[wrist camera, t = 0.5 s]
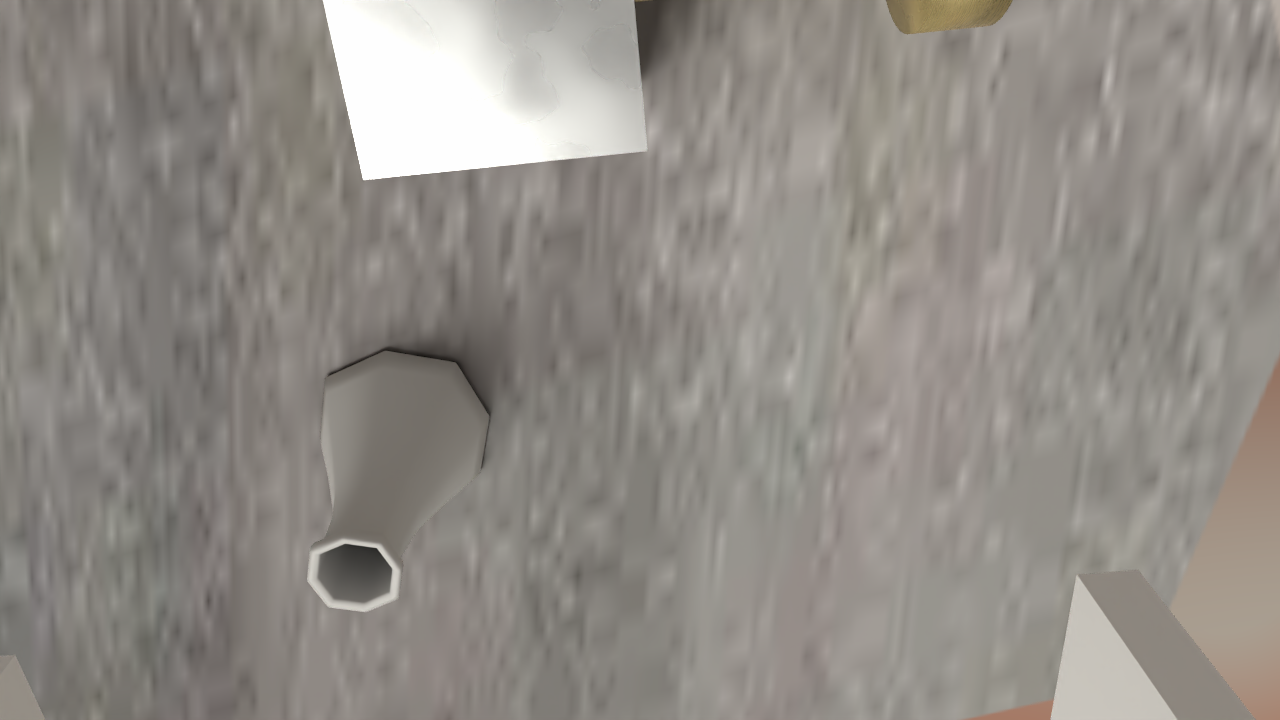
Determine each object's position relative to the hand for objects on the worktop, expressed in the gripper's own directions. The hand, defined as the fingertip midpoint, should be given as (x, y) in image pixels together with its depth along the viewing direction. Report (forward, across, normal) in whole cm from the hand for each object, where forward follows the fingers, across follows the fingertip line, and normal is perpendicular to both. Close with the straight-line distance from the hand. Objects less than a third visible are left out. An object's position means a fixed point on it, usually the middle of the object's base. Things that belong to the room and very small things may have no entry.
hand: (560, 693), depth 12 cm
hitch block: (+27, -2, +7) cm, 28 cm away
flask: (+27, -8, -11) cm, 30 cm away
